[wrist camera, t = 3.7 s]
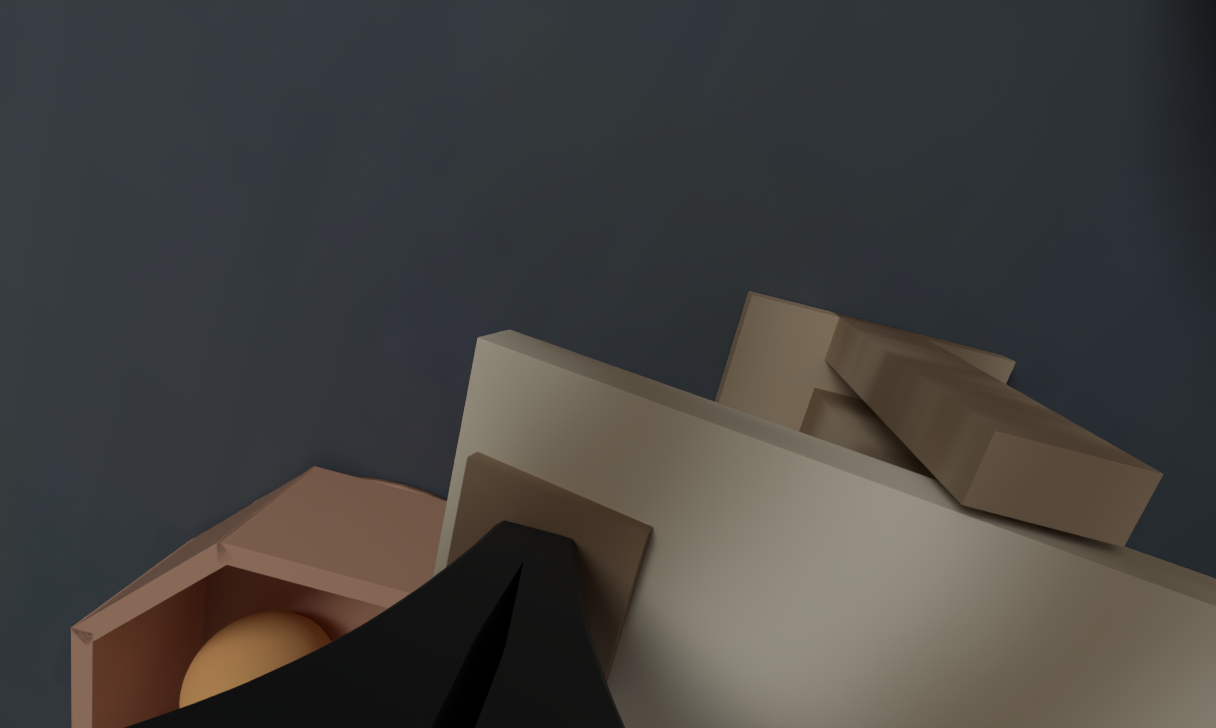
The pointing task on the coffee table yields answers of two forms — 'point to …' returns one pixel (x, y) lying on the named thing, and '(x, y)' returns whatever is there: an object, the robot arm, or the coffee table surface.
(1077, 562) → the lever
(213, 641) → the ball
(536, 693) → the robot arm
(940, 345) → the lever stand
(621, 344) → the coffee table surface
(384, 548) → the octagonal bowl
